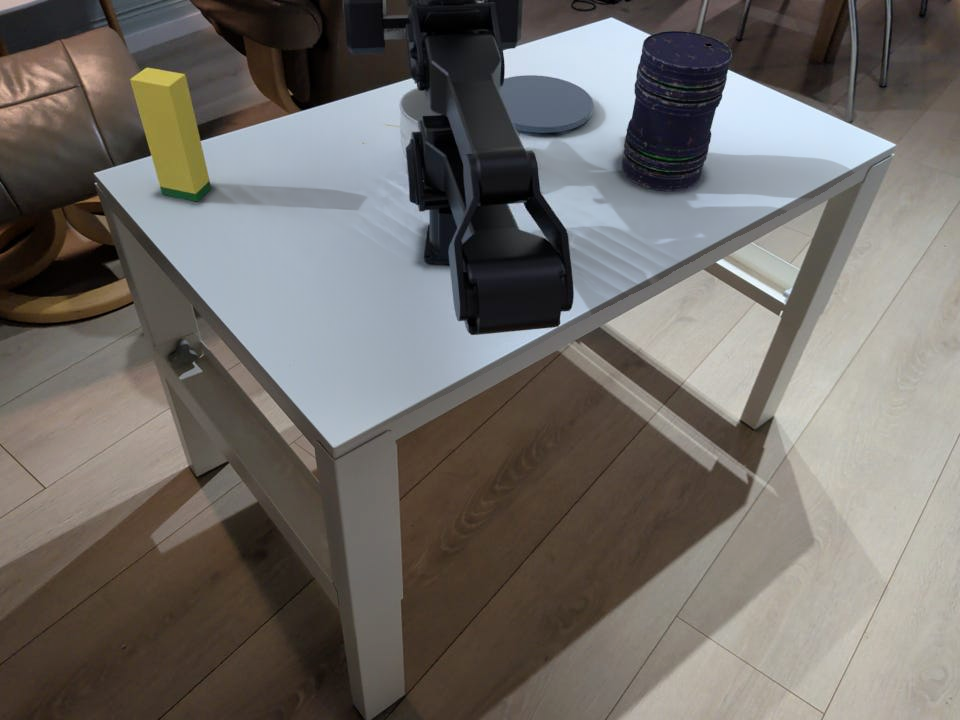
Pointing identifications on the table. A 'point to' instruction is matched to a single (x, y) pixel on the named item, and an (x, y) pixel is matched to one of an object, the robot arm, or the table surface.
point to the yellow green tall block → (171, 133)
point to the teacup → (412, 114)
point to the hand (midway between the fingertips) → (423, 0)
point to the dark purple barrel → (674, 109)
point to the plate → (545, 103)
